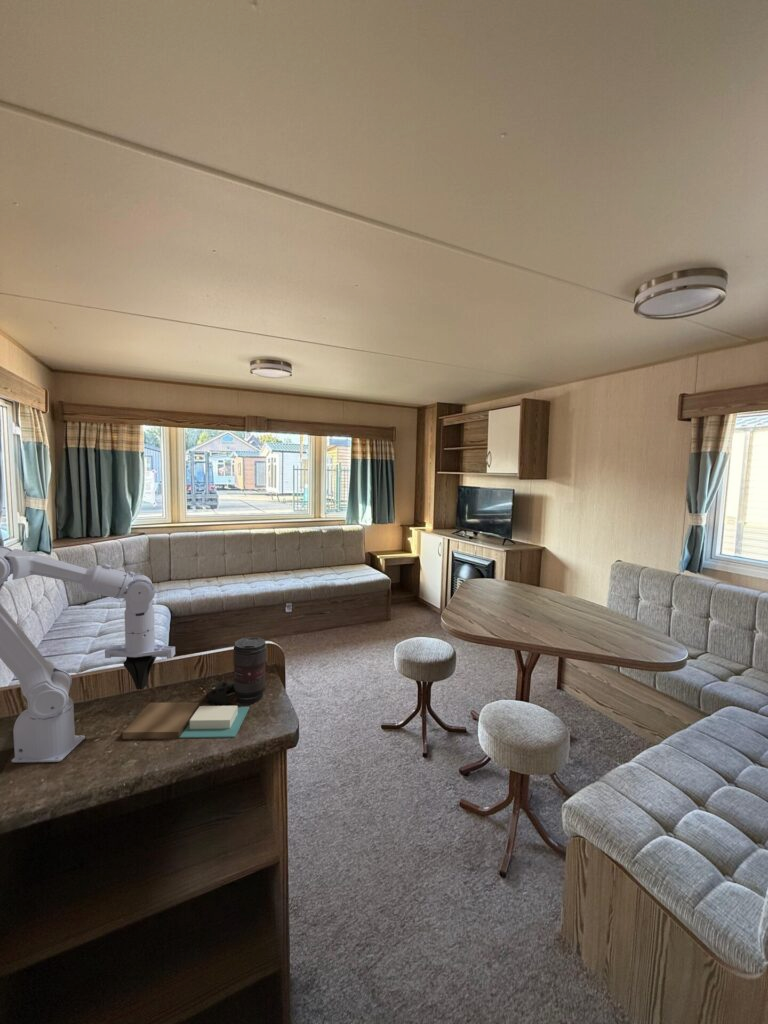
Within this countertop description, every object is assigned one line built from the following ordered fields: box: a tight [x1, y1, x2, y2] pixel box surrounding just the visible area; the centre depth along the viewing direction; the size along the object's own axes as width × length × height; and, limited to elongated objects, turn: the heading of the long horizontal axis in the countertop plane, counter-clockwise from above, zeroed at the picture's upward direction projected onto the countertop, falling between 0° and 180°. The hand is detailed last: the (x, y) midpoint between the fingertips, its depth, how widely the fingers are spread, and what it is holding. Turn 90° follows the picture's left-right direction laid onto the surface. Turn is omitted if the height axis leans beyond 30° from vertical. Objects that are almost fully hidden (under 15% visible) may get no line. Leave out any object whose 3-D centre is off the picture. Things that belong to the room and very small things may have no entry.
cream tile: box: [190, 705, 239, 729], centre depth 99 cm, size 9×6×2 cm, turn 93°
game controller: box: [206, 681, 234, 706], centre depth 110 cm, size 10×5×6 cm
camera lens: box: [232, 636, 267, 705], centre depth 109 cm, size 8×8×15 cm
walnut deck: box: [121, 701, 201, 740], centre depth 98 cm, size 12×12×2 cm
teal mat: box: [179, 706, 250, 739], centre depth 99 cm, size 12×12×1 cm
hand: (141, 687), depth 96 cm, fingers closed
